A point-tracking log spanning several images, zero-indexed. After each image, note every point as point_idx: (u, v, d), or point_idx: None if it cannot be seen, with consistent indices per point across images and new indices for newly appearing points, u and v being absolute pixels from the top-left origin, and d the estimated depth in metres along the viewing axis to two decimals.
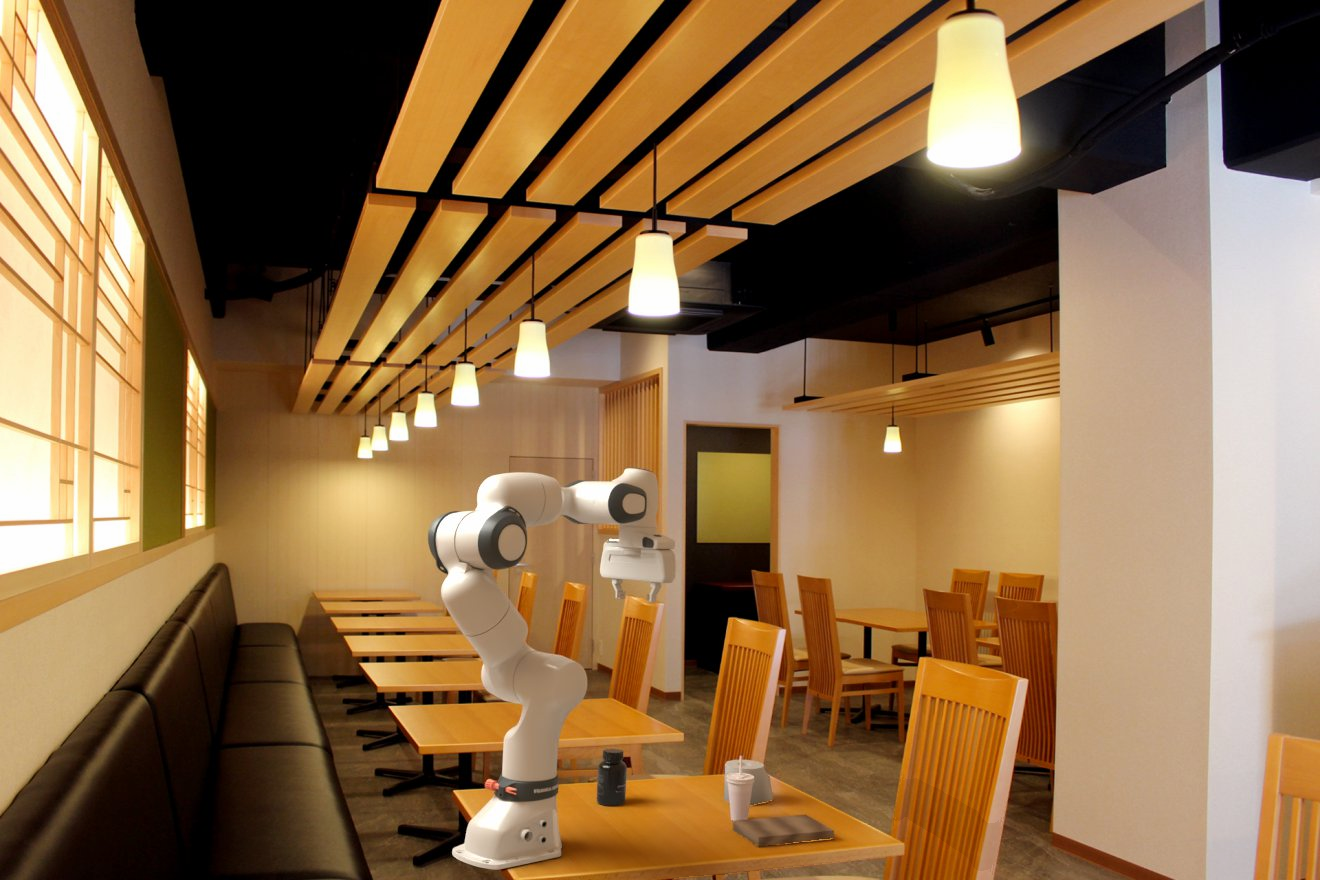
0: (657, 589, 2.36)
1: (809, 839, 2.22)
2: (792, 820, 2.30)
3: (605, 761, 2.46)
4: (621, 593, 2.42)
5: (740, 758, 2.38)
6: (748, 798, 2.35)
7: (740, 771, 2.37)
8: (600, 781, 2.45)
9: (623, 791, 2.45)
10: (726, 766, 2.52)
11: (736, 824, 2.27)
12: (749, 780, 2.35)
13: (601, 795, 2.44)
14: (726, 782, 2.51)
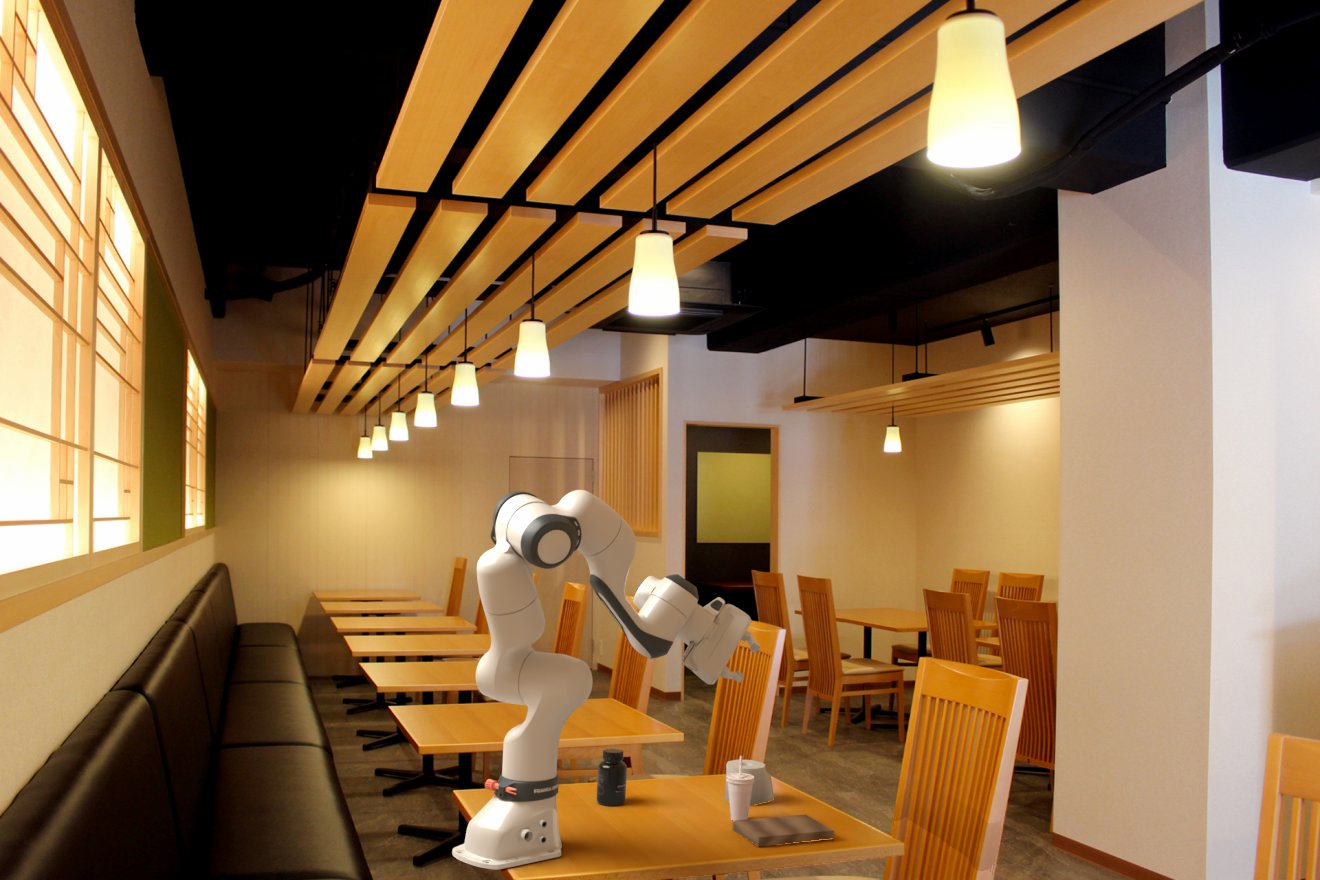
0: None
1: (809, 839, 2.22)
2: (792, 820, 2.30)
3: (605, 761, 2.46)
4: None
5: (740, 758, 2.38)
6: (748, 798, 2.35)
7: (740, 771, 2.37)
8: (600, 781, 2.45)
9: (623, 791, 2.45)
10: (727, 766, 2.52)
11: (736, 824, 2.27)
12: (749, 780, 2.35)
13: (601, 795, 2.44)
14: (727, 782, 2.52)
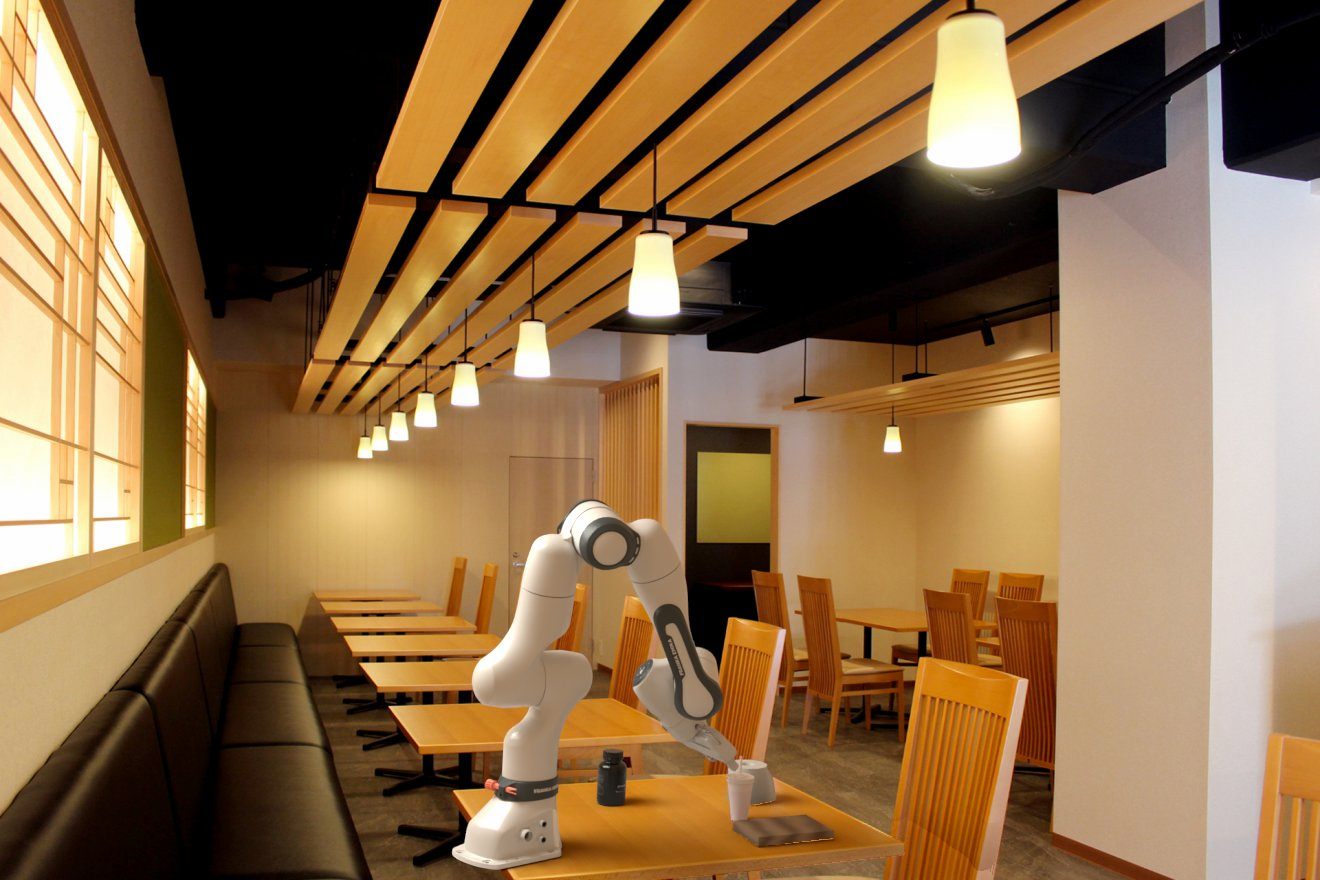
0: None
1: (809, 839, 2.22)
2: (792, 820, 2.30)
3: (605, 761, 2.46)
4: None
5: (740, 758, 2.38)
6: (748, 798, 2.35)
7: (740, 771, 2.37)
8: (600, 781, 2.45)
9: (623, 791, 2.45)
10: None
11: (736, 824, 2.27)
12: (749, 780, 2.35)
13: (601, 795, 2.44)
14: None
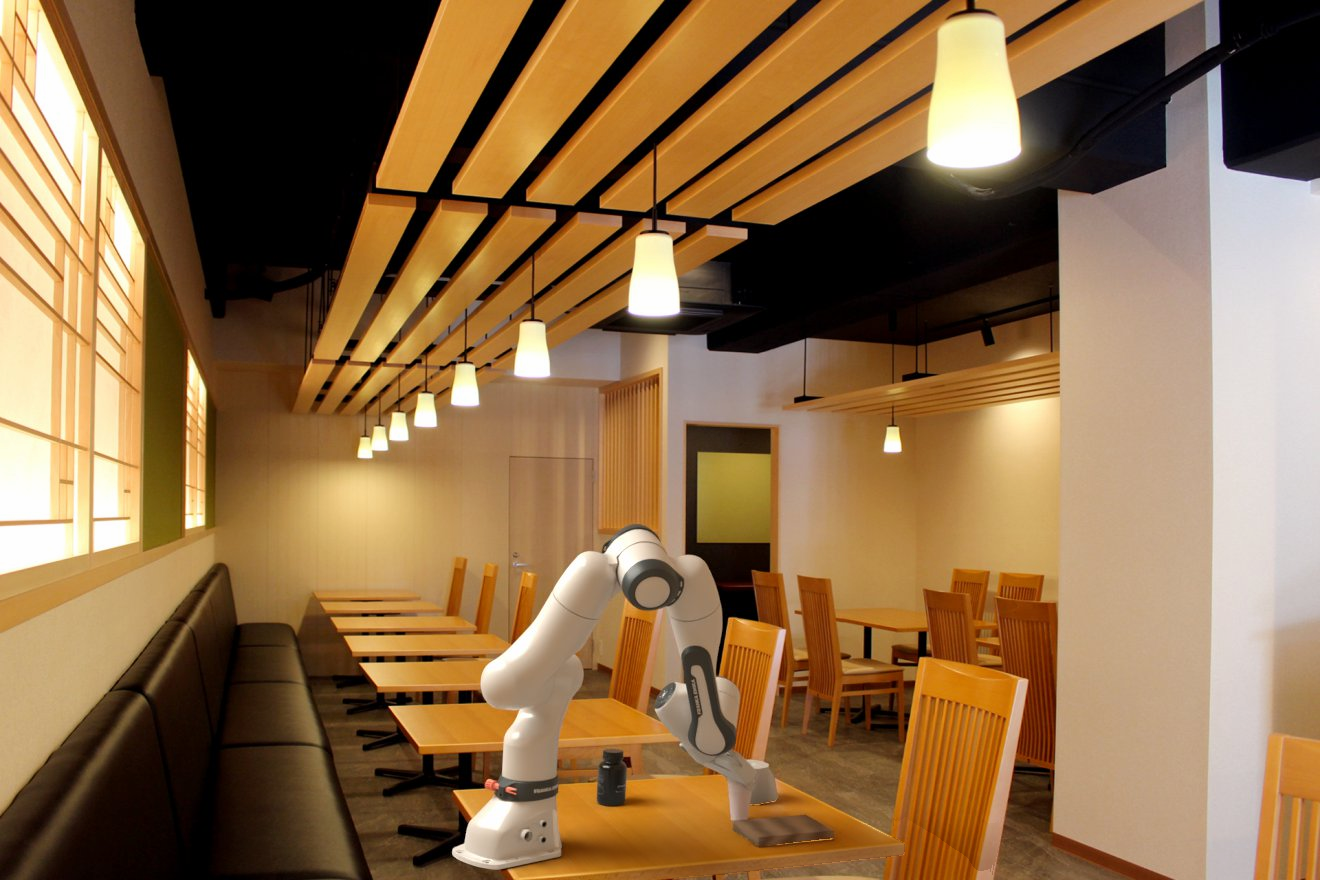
0: None
1: (809, 839, 2.22)
2: (792, 820, 2.30)
3: (605, 761, 2.46)
4: None
5: None
6: (748, 798, 2.35)
7: None
8: (600, 781, 2.45)
9: (623, 791, 2.45)
10: None
11: (736, 824, 2.27)
12: None
13: (601, 795, 2.44)
14: None
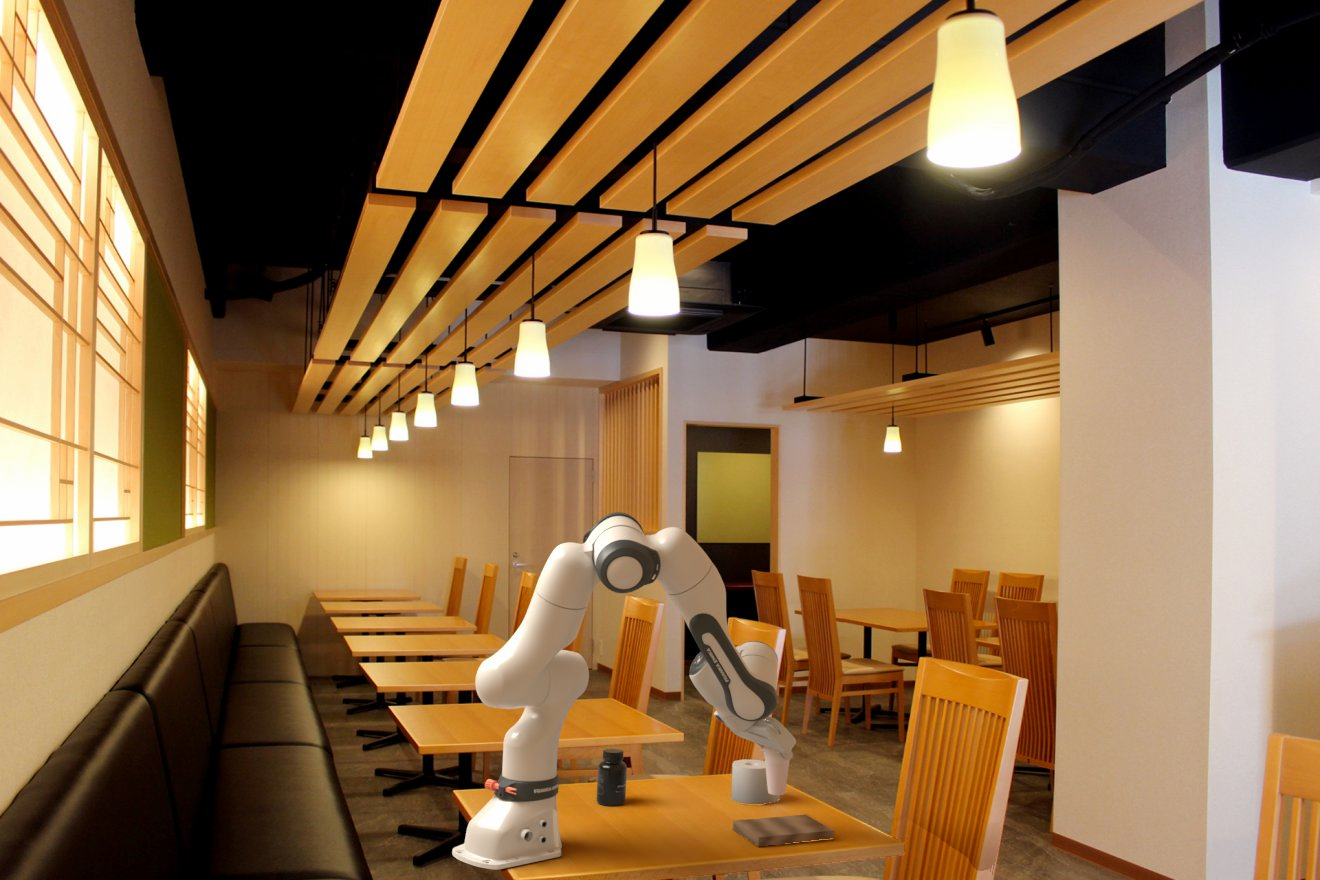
0: None
1: (809, 839, 2.22)
2: (792, 820, 2.30)
3: (605, 761, 2.46)
4: None
5: None
6: (786, 770, 2.28)
7: None
8: (600, 781, 2.45)
9: (623, 791, 2.45)
10: (733, 766, 2.52)
11: (736, 824, 2.27)
12: None
13: (601, 795, 2.44)
14: (733, 782, 2.52)
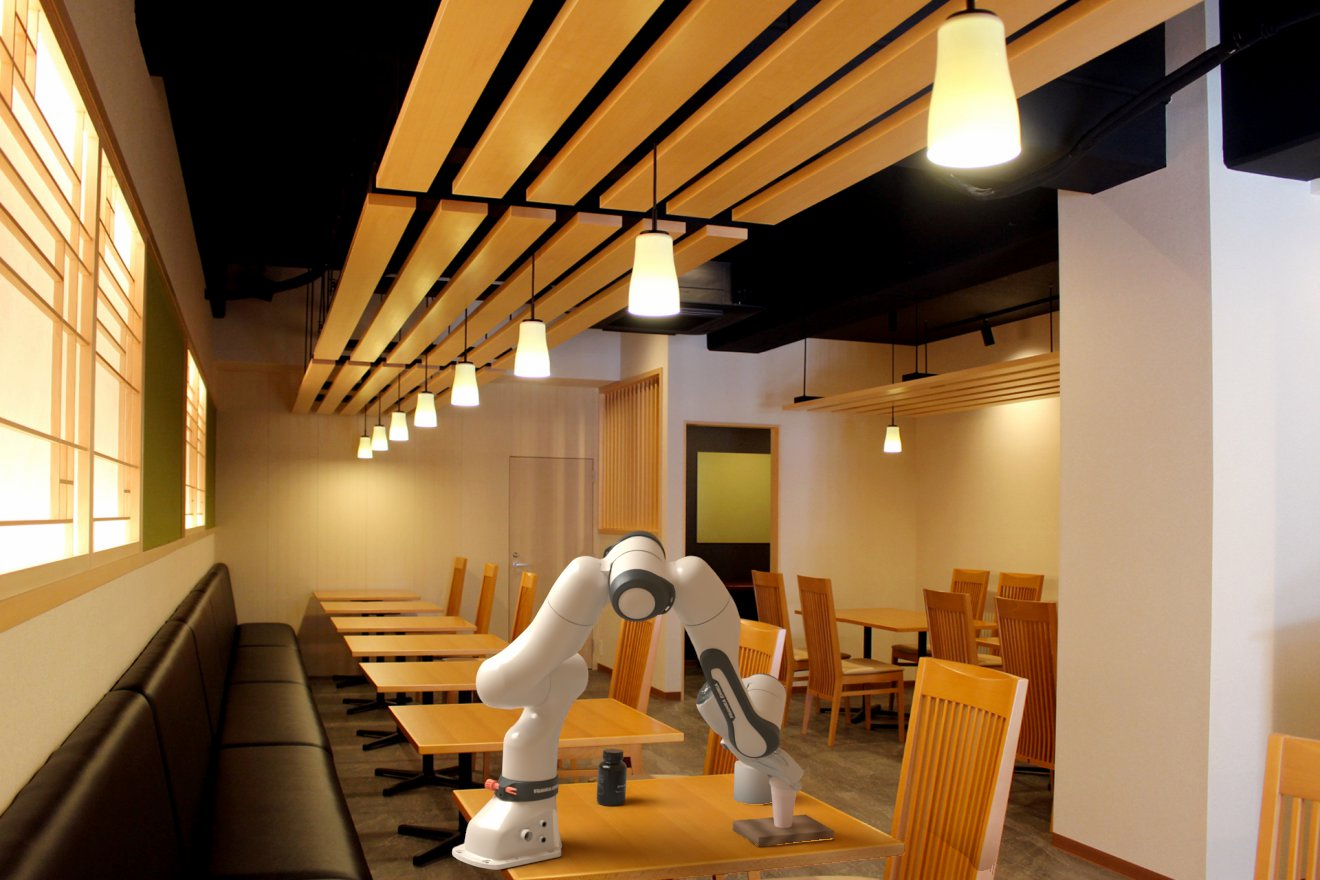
0: None
1: (809, 839, 2.22)
2: (792, 820, 2.30)
3: (605, 761, 2.46)
4: None
5: None
6: (792, 802, 2.25)
7: None
8: (600, 781, 2.45)
9: (623, 791, 2.45)
10: (736, 766, 2.53)
11: (736, 824, 2.27)
12: None
13: (601, 795, 2.44)
14: (736, 782, 2.52)
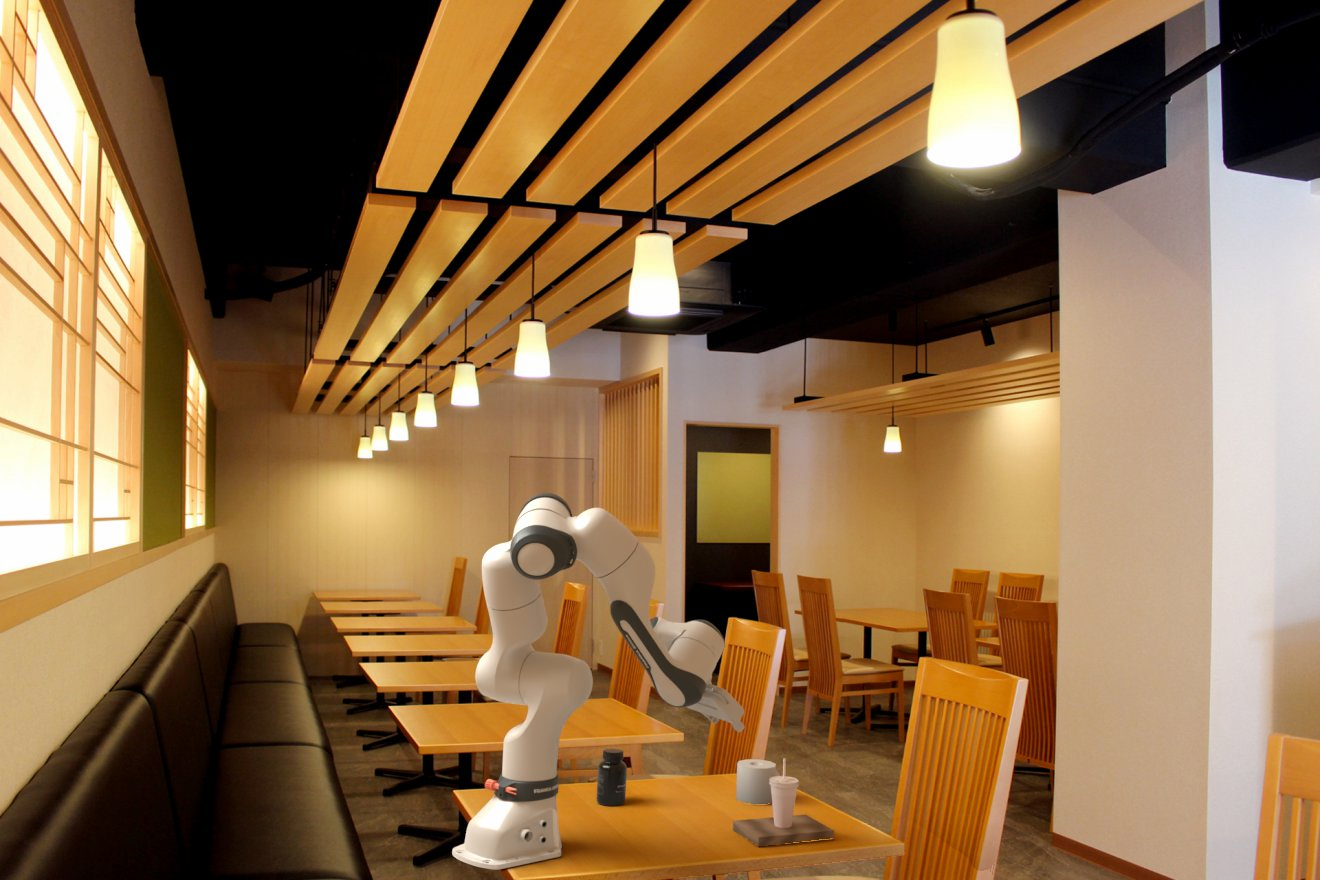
0: None
1: (809, 839, 2.22)
2: (792, 820, 2.30)
3: (605, 761, 2.46)
4: None
5: (784, 761, 2.28)
6: (792, 802, 2.25)
7: (784, 774, 2.28)
8: (600, 781, 2.45)
9: (623, 791, 2.45)
10: (738, 766, 2.53)
11: (736, 824, 2.27)
12: (794, 784, 2.25)
13: (601, 795, 2.44)
14: (738, 781, 2.52)
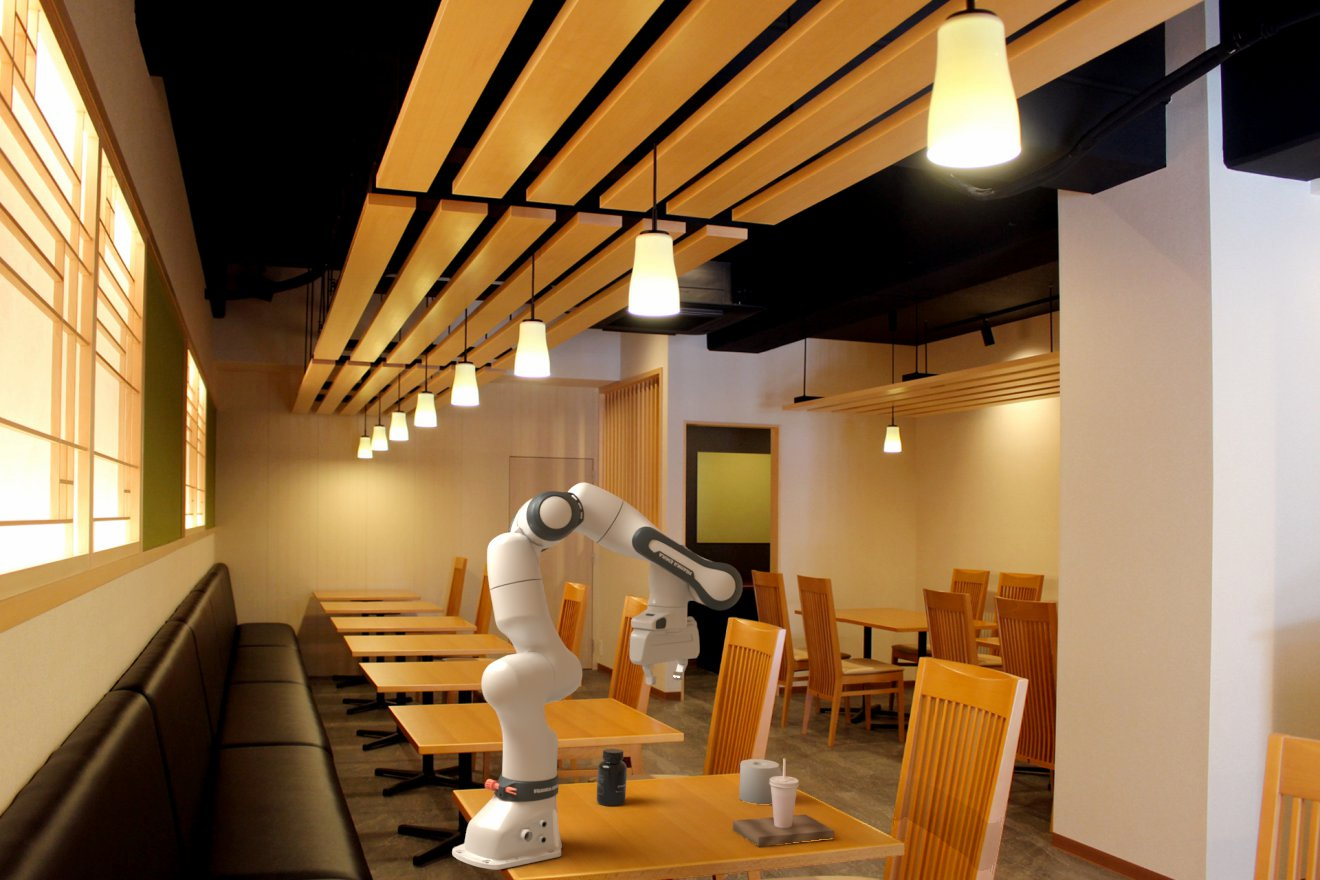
0: (647, 671, 2.27)
1: (809, 839, 2.22)
2: (792, 820, 2.30)
3: (605, 761, 2.46)
4: (675, 673, 2.35)
5: (784, 761, 2.28)
6: (792, 802, 2.25)
7: (784, 774, 2.28)
8: (600, 781, 2.45)
9: (623, 791, 2.45)
10: (741, 765, 2.53)
11: (736, 824, 2.27)
12: (794, 784, 2.25)
13: (601, 795, 2.44)
14: (741, 781, 2.53)
